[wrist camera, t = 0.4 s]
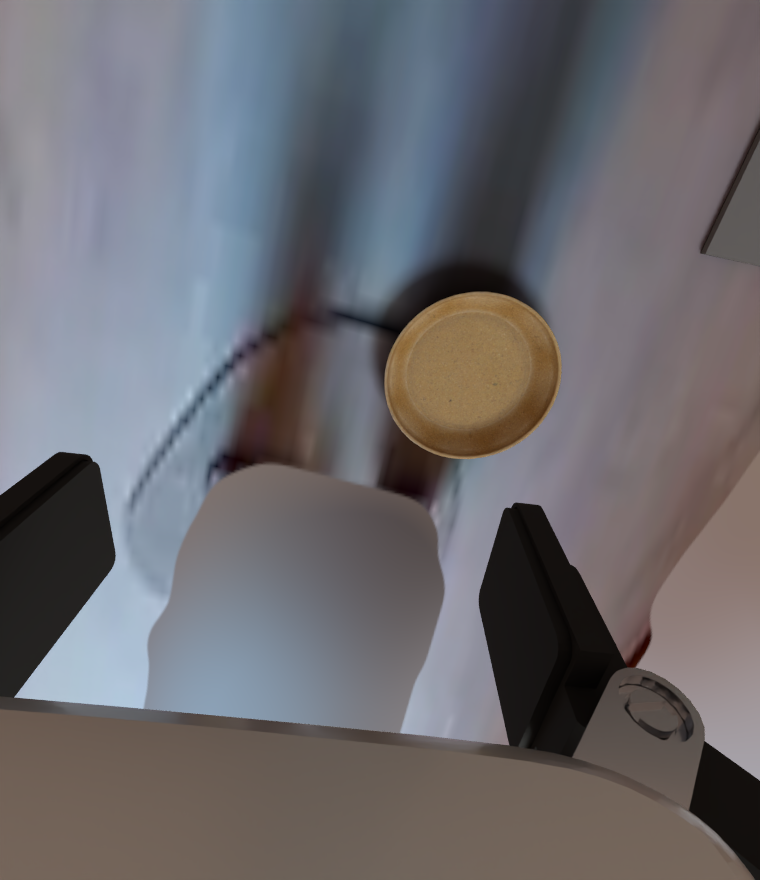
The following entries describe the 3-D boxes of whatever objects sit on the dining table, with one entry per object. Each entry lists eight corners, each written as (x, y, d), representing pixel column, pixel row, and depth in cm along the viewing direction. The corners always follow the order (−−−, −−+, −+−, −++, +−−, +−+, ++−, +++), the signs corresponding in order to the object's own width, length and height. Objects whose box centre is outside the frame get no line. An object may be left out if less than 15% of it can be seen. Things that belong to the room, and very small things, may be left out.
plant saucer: (569, 291, 38) (581, 297, 35) (533, 450, 44) (541, 463, 42) (389, 281, 38) (389, 286, 35) (380, 442, 44) (380, 455, 42)
